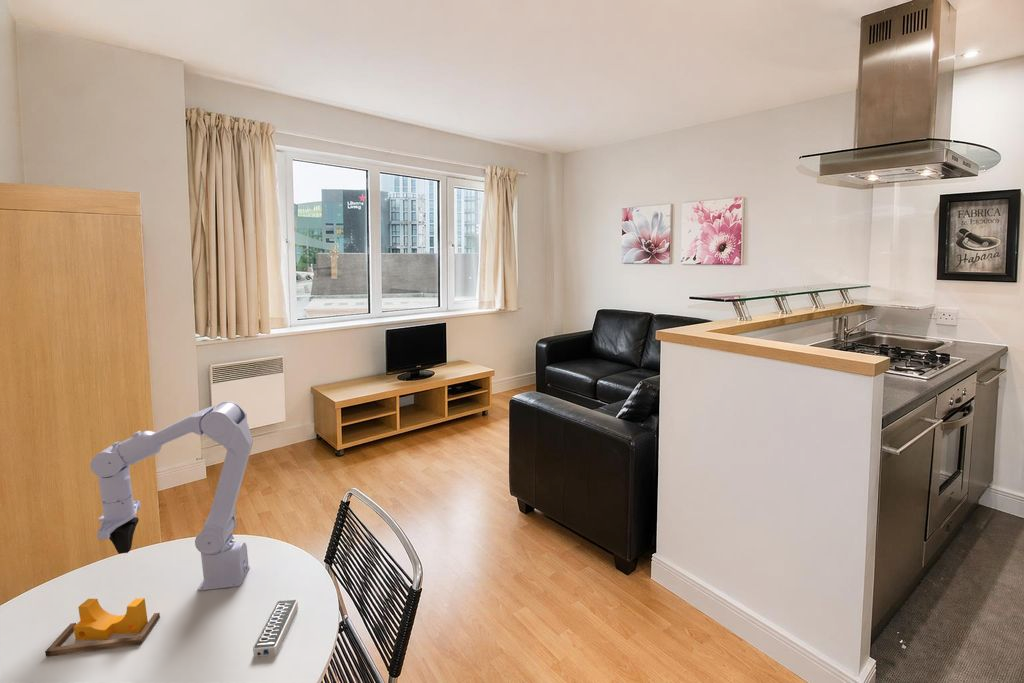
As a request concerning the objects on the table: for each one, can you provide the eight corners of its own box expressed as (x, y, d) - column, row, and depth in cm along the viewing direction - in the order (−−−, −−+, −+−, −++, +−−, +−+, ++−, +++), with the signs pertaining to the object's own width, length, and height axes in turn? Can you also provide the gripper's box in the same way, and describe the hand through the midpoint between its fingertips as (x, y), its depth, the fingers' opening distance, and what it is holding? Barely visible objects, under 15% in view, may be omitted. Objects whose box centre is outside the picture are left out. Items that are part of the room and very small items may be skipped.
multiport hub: (298, 608, 116) (297, 599, 116) (276, 657, 102) (275, 647, 102) (278, 609, 116) (277, 600, 116) (253, 659, 102) (252, 648, 101)
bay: (160, 617, 113) (159, 612, 113) (141, 644, 105) (141, 639, 105) (71, 628, 109) (70, 623, 109) (45, 656, 102) (44, 651, 102)
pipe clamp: (75, 640, 106) (71, 612, 105) (92, 625, 111) (88, 598, 110) (133, 640, 106) (129, 612, 105) (148, 625, 111) (144, 598, 110)
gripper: (114, 485, 124) (121, 537, 127) (77, 514, 110) (86, 572, 113) (147, 482, 126) (153, 534, 128) (114, 511, 112) (122, 568, 114)
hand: (124, 551), depth 121 cm, fingers closed
